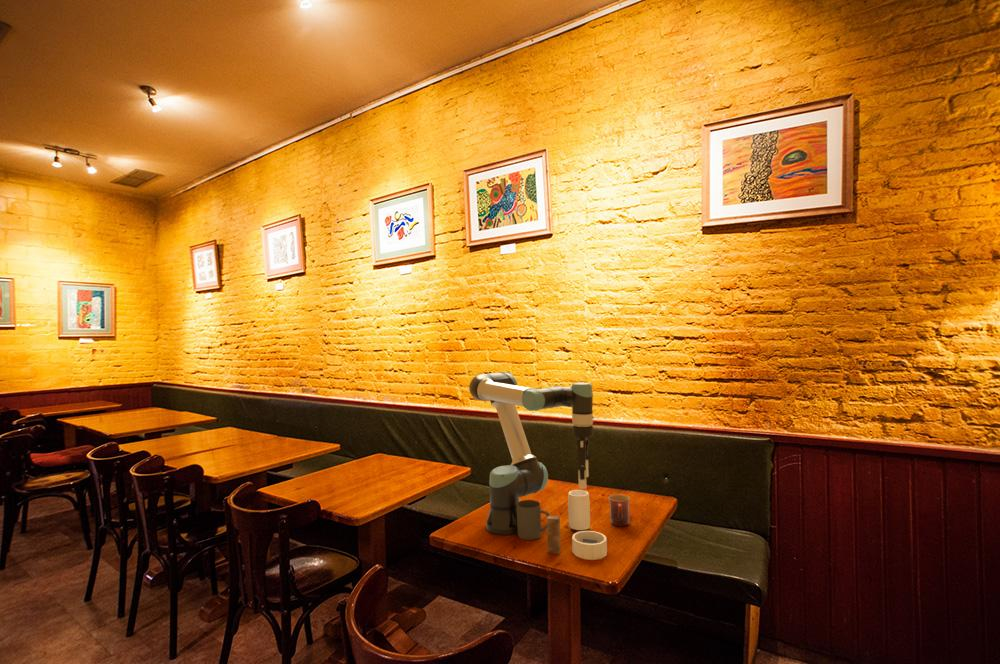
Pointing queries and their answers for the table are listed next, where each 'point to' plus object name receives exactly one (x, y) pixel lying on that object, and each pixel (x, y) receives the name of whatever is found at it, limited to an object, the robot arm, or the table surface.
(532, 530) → the mug
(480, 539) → the table surface
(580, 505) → the cup
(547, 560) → the table surface
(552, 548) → the tall brown wooden block
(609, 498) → the mug
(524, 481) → the robot arm
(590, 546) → the white round bowl
